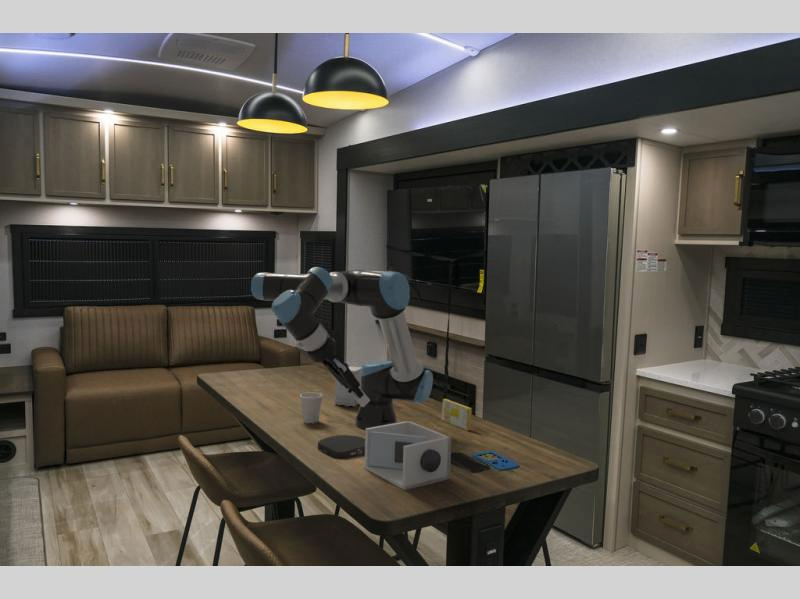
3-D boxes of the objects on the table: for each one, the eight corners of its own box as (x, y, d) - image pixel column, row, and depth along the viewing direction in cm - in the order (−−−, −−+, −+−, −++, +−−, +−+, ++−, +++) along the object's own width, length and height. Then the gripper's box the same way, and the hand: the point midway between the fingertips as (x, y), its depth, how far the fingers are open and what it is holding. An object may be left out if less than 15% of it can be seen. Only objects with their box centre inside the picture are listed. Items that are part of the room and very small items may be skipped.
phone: (458, 451, 202) (491, 465, 190) (458, 455, 202) (491, 469, 190) (439, 456, 197) (471, 470, 185) (439, 459, 197) (471, 474, 185)
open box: (408, 492, 169) (409, 448, 168) (364, 468, 187) (365, 428, 186) (453, 480, 179) (455, 439, 178) (407, 458, 196) (408, 420, 195)
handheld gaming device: (500, 468, 188) (471, 453, 201) (500, 472, 188) (470, 456, 201) (522, 464, 192) (492, 449, 205) (522, 468, 192) (491, 453, 205)
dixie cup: (294, 422, 232) (295, 395, 231) (307, 417, 240) (308, 391, 239) (314, 425, 228) (314, 398, 228) (326, 420, 236) (326, 393, 235)
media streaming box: (350, 440, 214) (350, 431, 214) (376, 452, 203) (376, 443, 202) (313, 448, 205) (313, 439, 205) (337, 461, 193) (338, 451, 193)
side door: (423, 472, 181) (424, 438, 180) (368, 466, 185) (369, 432, 184) (424, 470, 182) (425, 436, 181) (370, 464, 186) (370, 431, 185)
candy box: (471, 430, 228) (472, 408, 227) (466, 431, 227) (467, 408, 226) (445, 419, 242) (446, 398, 241) (441, 420, 241) (441, 398, 240)
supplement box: (354, 407, 255) (355, 371, 254) (334, 405, 258) (334, 369, 257) (362, 402, 264) (363, 367, 262) (343, 400, 267) (343, 365, 265)
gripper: (296, 347, 167) (344, 406, 178) (317, 357, 157) (367, 420, 167) (316, 328, 170) (363, 387, 180) (338, 337, 159) (387, 399, 169)
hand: (365, 403), depth 174 cm, fingers closed
